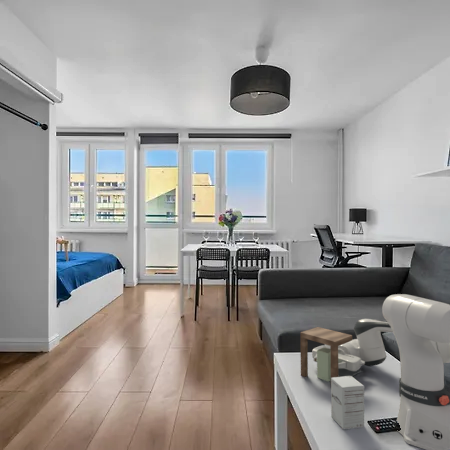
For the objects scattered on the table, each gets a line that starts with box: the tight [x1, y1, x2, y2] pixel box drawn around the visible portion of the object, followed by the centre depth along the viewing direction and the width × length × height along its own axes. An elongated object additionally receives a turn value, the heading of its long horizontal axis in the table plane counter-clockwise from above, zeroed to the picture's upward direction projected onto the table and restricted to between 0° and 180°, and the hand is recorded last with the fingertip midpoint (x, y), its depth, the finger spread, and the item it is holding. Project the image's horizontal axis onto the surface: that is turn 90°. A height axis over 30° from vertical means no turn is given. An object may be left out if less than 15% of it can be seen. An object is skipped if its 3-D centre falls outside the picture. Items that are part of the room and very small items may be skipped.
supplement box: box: [330, 376, 365, 430], centre depth 109 cm, size 7×7×13 cm
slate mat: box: [338, 368, 362, 377], centre depth 148 cm, size 12×10×1 cm
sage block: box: [316, 347, 331, 382], centre depth 141 cm, size 5×5×11 cm
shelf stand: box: [299, 326, 353, 378], centre depth 141 cm, size 16×12×18 cm
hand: (324, 363), depth 141 cm, fingers open, 8 cm apart
